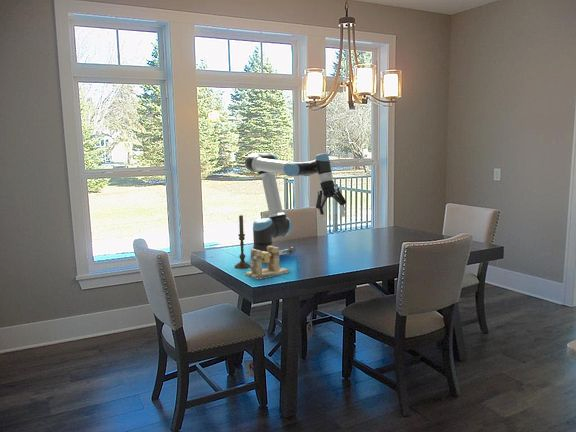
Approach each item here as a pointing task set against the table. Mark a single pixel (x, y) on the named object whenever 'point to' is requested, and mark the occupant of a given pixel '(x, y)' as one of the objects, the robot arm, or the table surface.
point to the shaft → (280, 252)
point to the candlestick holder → (241, 238)
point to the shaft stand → (271, 266)
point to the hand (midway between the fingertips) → (334, 218)
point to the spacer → (265, 257)
